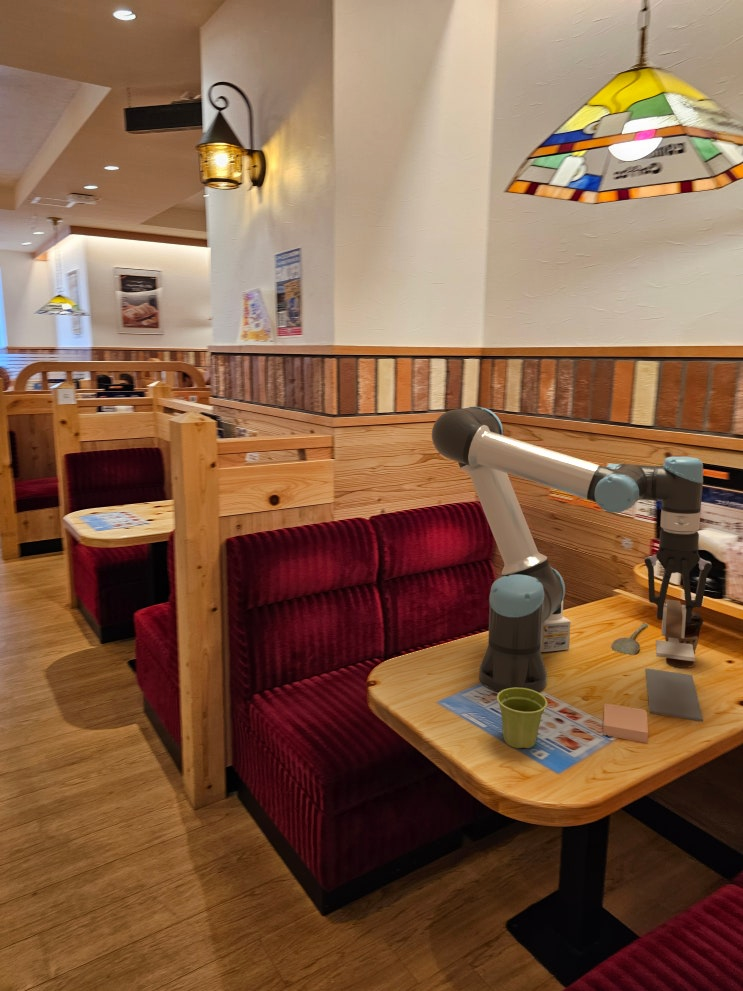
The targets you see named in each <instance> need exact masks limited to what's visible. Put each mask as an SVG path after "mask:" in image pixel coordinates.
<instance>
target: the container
mask: <svg viewBox="0 0 743 991" xmlns="http://www.w3.org/2000/svg"><path fill="white" fill-rule="evenodd" d="M563 614H564V600H563V601H562V603H561V605H560V607H559V608H558V609H557V610H556V611H555V612H554V613H553V614H551V615H550V616H549V617H548V618H547V619H546V620H545V621H544V622H543V623H542V630H541V646H540V651H541V653H549V652H557V651H565V650H569V649H570V641H571V640H570V639H571V635H570V634H571V620H570V619H568V618H567V617H565V616H563Z"/></svg>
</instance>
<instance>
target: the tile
mask: <svg viewBox="0 0 743 991" xmlns="http://www.w3.org/2000/svg"><path fill="white" fill-rule="evenodd" d="M647 716H648V715H647V710H646V709H641V708H635V707H629V706H622V705H618V704H617V705H616V704H611V703H604V708H603V727H602V728H603V731H602V733H603V734H605V735H604V736H606V735H608V736H607V737H611V736H613V738H617V737H618V738H617V739H624V740H629V741H635V742H640V743H646V744H647V743H648V737H649V728H648V727H649V726H648V717H647ZM603 734H602V735H603Z"/></svg>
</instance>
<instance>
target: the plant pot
mask: <svg viewBox="0 0 743 991" xmlns="http://www.w3.org/2000/svg"><path fill="white" fill-rule="evenodd" d="M496 701H497V703H498V704H499V708H500V711H501V712H500V713H501V726H502V735H503V736H502V737H503V740H504V742H505V743H506V744H507V745H508V746H510V747H513V748H515V749H522V748H525V749H530V748H532V747H534V746H535V745H536V742H537V738H538V734H539V728H540V725H541V720H542V717H543V715H544V712H545V710H546V708H547V706H548V700H547V698H546V697H545V696H544V695H543V694H542V693H540V692H536V691H534V690H531V689H526V688H508V689H504V690H502V691H501V692H497V696H496Z"/></svg>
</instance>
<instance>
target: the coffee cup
mask: <svg viewBox="0 0 743 991" xmlns="http://www.w3.org/2000/svg"><path fill="white" fill-rule="evenodd" d="M703 624H704V619H703V618H702V616H701V613H700V612H699V611H697V610H693V609H692V616H691V622H690V623H686V622H685V635H684V638H681V642H679V643H685V644H692V646H693V651H694V656H695V655H696V649H697V646H698V645H699V638H700V631H701V628H702V626H703ZM665 662H666V663H667V664H669V665H670V666H674V667H676V668H677V667H678V668H693V667H694V666H695V661H688V660H680V659H672V658H665Z"/></svg>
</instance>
